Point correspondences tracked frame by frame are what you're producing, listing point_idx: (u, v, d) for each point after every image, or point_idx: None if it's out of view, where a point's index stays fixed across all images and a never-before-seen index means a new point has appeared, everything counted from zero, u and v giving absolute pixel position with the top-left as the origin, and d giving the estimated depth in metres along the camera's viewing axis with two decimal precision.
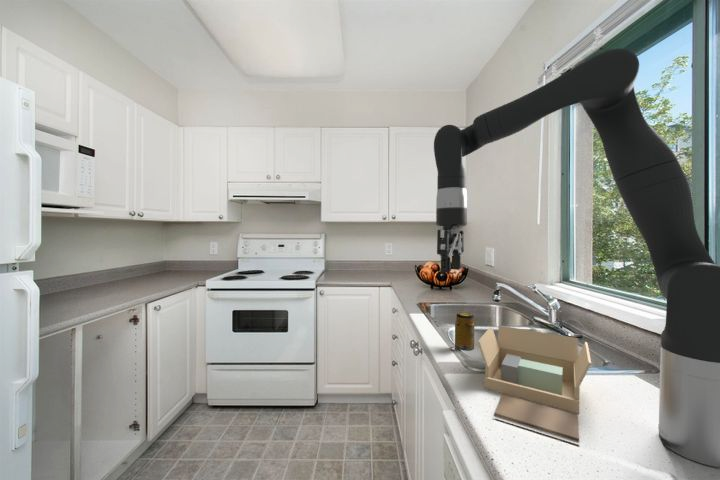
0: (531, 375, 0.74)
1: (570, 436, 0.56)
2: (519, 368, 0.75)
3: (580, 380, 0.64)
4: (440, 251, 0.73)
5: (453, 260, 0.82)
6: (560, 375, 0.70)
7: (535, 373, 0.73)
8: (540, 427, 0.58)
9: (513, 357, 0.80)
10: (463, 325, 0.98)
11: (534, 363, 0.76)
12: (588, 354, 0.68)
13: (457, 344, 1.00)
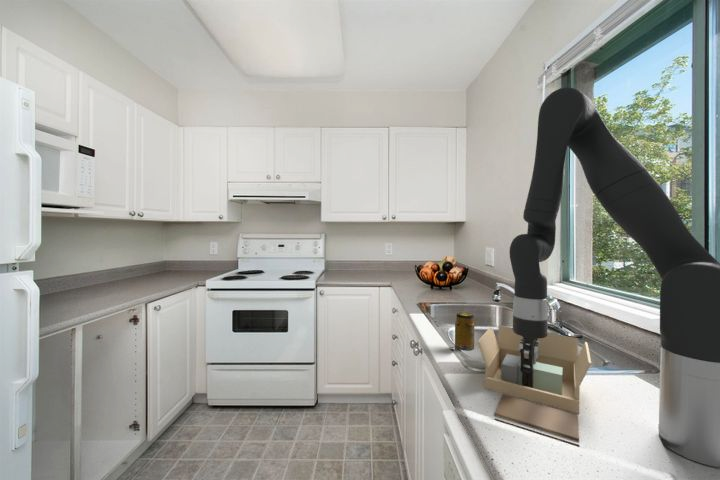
0: None
1: (570, 436, 0.56)
2: (519, 368, 0.75)
3: (580, 380, 0.64)
4: (524, 370, 0.72)
5: None
6: (560, 375, 0.70)
7: (535, 373, 0.73)
8: (540, 427, 0.58)
9: (513, 357, 0.80)
10: (463, 326, 0.98)
11: None
12: (588, 354, 0.68)
13: (457, 344, 1.00)
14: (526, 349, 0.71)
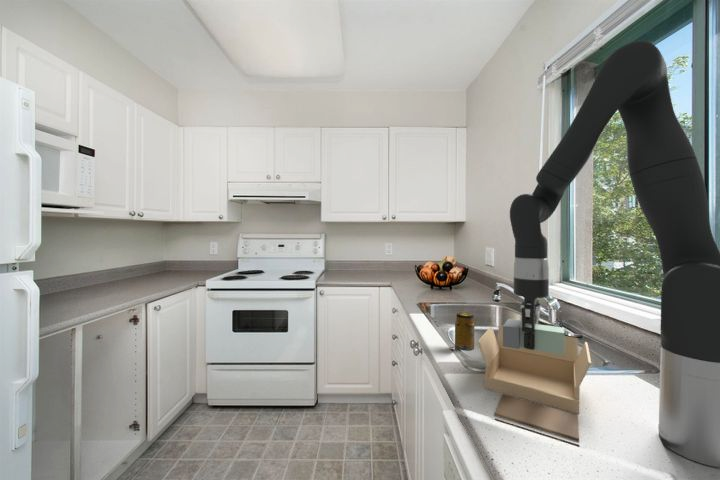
0: None
1: (570, 436, 0.56)
2: (521, 329, 0.75)
3: (580, 380, 0.64)
4: (526, 329, 0.71)
5: None
6: (562, 333, 0.70)
7: (537, 333, 0.73)
8: (540, 427, 0.58)
9: (514, 321, 0.80)
10: (463, 326, 0.98)
11: (536, 325, 0.76)
12: (588, 354, 0.68)
13: (457, 344, 1.00)
14: (527, 308, 0.71)
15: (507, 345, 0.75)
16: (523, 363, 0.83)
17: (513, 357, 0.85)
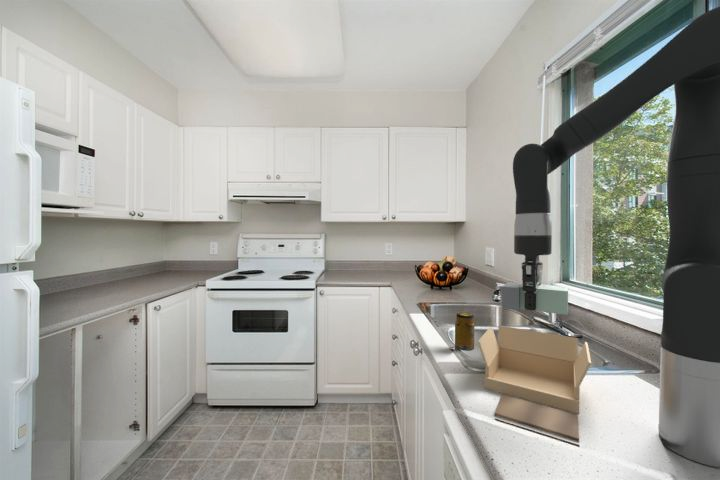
0: None
1: (570, 436, 0.56)
2: (521, 290, 0.70)
3: (580, 380, 0.64)
4: (527, 288, 0.67)
5: None
6: (565, 291, 0.65)
7: (539, 292, 0.68)
8: (540, 427, 0.58)
9: (514, 283, 0.75)
10: (463, 326, 0.98)
11: (538, 286, 0.71)
12: (588, 354, 0.68)
13: (457, 344, 1.00)
14: (528, 265, 0.66)
15: (506, 306, 0.71)
16: (523, 363, 0.83)
17: (513, 357, 0.85)
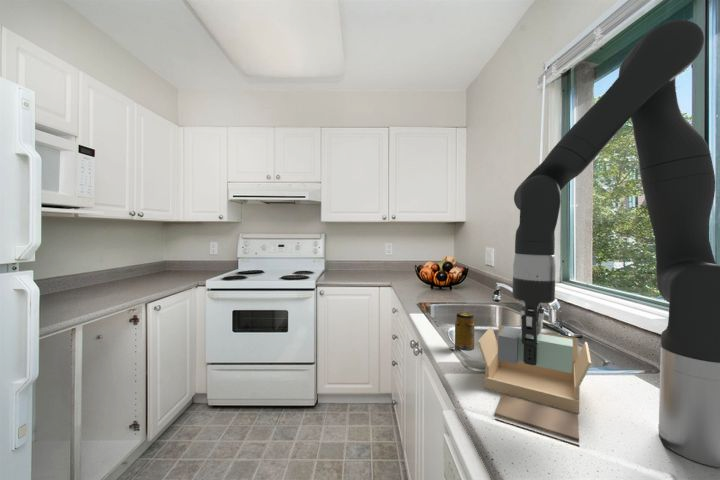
0: None
1: (570, 436, 0.56)
2: (520, 340, 0.62)
3: (580, 380, 0.64)
4: (526, 341, 0.59)
5: None
6: (570, 347, 0.57)
7: (539, 345, 0.60)
8: (540, 427, 0.58)
9: (512, 329, 0.67)
10: (463, 326, 0.98)
11: (538, 335, 0.63)
12: (588, 354, 0.68)
13: (457, 344, 1.00)
14: (529, 315, 0.58)
15: (503, 358, 0.62)
16: (523, 363, 0.83)
17: None
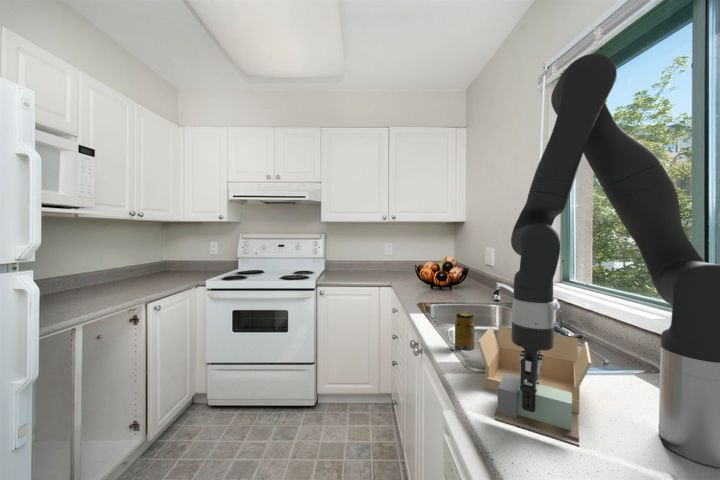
0: None
1: (570, 436, 0.56)
2: (519, 393, 0.62)
3: (580, 380, 0.64)
4: (525, 389, 0.57)
5: (529, 381, 0.67)
6: (569, 404, 0.57)
7: (539, 400, 0.60)
8: (540, 427, 0.58)
9: (511, 378, 0.67)
10: (463, 326, 0.98)
11: (537, 387, 0.63)
12: (588, 354, 0.68)
13: (457, 344, 1.00)
14: (528, 360, 0.58)
15: (502, 411, 0.62)
16: None
17: (513, 357, 0.85)
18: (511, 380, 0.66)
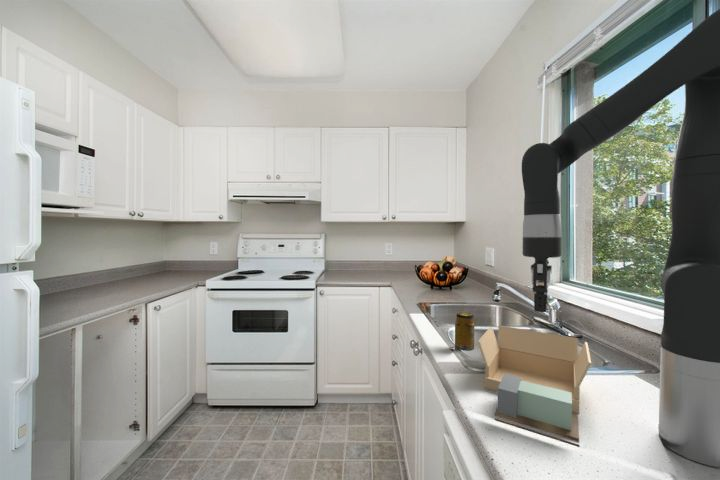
0: (533, 403, 0.61)
1: (570, 436, 0.56)
2: (519, 393, 0.62)
3: (580, 380, 0.64)
4: (537, 288, 0.63)
5: None
6: (569, 404, 0.57)
7: (539, 400, 0.60)
8: (540, 427, 0.58)
9: (511, 378, 0.67)
10: (463, 326, 0.98)
11: (537, 387, 0.63)
12: (588, 354, 0.68)
13: (457, 344, 1.00)
14: None
15: (502, 411, 0.62)
16: (523, 363, 0.83)
17: (513, 357, 0.85)
18: (511, 380, 0.66)
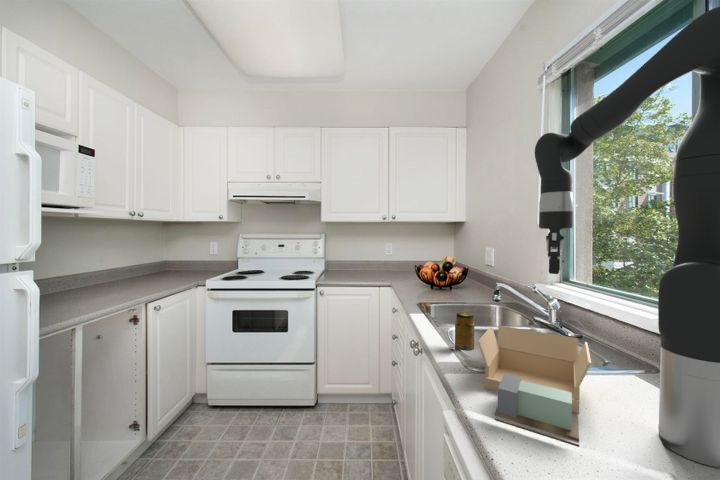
0: (533, 403, 0.61)
1: (570, 436, 0.56)
2: (519, 393, 0.62)
3: (580, 380, 0.64)
4: (552, 253, 0.76)
5: None
6: (569, 404, 0.57)
7: (539, 400, 0.60)
8: (540, 427, 0.58)
9: (511, 378, 0.67)
10: (463, 326, 0.98)
11: (537, 387, 0.63)
12: (588, 354, 0.68)
13: (457, 344, 1.00)
14: None
15: (502, 411, 0.62)
16: (523, 363, 0.83)
17: (513, 357, 0.85)
18: (511, 380, 0.66)
